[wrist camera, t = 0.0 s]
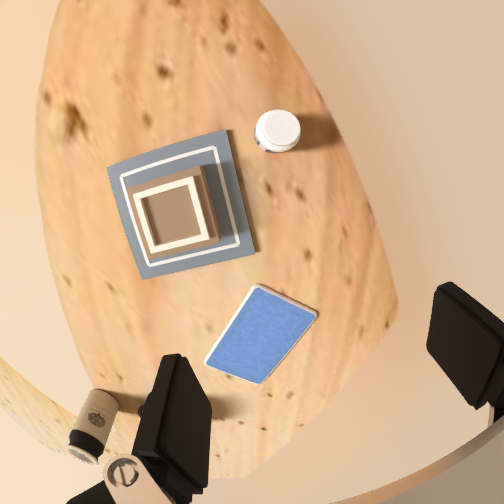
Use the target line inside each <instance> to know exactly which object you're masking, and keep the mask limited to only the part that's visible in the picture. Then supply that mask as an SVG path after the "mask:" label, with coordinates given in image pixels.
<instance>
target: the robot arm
mask: <svg viewBox="0 0 504 504" xmlns="http://www.w3.org/2000/svg"><path fill="white" fill-rule="evenodd" d="M426 346H427V350H428V352H429V353H430V355H431V356H432V357H433V358H434V359H435V361H436V362H437V363H438V365H439V366H440V367H441V368H442V370H443V371H444V372H445V373H446V375H447V376H448V377H449V379H450V380H451V381H452V383H453V384H454V385H455V386H456V388H457V389H458V390H459V392H460V393H461V394H462V396H463V397H464V399H465V400H466V401H467V403H468V404H469V405H471V406H474V408H475V409H476V410H478V409H479V408H481V407H482V406H483V405H485V404H486V402H487V401H488V402H489V404H490V409H489V410H490V411H489V420H488V428H487V429H486V430H484V431H483V432H482V433H480V434H479V435H478V436H476V437H475V438H473V439H472V440H470V441H469V442H467V443H466V444H465V445H463V446H461V447H460V448H458V449H457V450H455V451H453V452H452V453H450V454H448V455H447V456H445V457H443V458H441V459H440V460H438V461H436V462H434V463H433V464H431V465H429V466H427V467H425V468H423V469H421V470H419V471H417V472H415V473H413V474H411V475H409V476H406V477H404V478H402V479H400V480H398V481H395V482H393V483H391V484H388V485H386V486H383V487H381V488H378V489H375V490H373V491H370V492H367V493H364V494H361V495H358V496H355V497H352V498H349V499H345V500H342V501H339V502H335V503H331V504H504V323H503V322H502V321H501V320H500V319H499V318H498V317H496V316H495V315H494V314H493V313H492V312H490V311H489V310H488V309H486V308H485V307H484V306H483V305H482V304H480V303H479V302H478V301H476V300H475V299H474V298H472V297H471V296H470V295H469V294H468V293H466V292H465V291H464V290H462V289H461V288H460V287H458V286H457V285H456V284H454V283H453V282H447V283H444V284H442V285H439V286H438V287H437V289H436V291H435V293H434V299H433V307H432V314H431V321H430V327H429V332H428V338H427V343H426ZM211 417H212V408H211V404H210V402H209V400H208V398H207V396H206V395H205V393H204V391H203V389H202V387H201V385H200V383H199V381H198V379H197V377H196V375H195V374H194V372H193V370H192V368H191V366H190V364H189V361H188V359H187V358H186V357H182V356H181V355H180V354H170V355H164V356H163V357H162V360H161V363H160V366H159V370H158V373H157V376H156V379H155V383H154V386H153V389H152V392H150V393H149V395H148V397H147V400H146V403H145V406H144V410H143V413H142V417H141V420H140V424H139V427H138V431H137V435H136V438H135V442H134V446H133V449H132V453H131V455H129V454H121V455H118V456H115V457H113V458H112V459H111V460H109V461H108V463H107V464H106V465H105V468H104V471H103V477H104V480H103V481H101V482H100V483H98V484H97V485H95V486H93V487H91V488H90V489H88V490H86V491H84V492H83V493H81V494H79V495H77V496H75V497H73V498H72V499H70V500H69V501H68V502H67V503H66V504H192V503H191V502H192V494H203V488H206V487H207V485H208V470H209V450H210V433H211Z"/></svg>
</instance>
